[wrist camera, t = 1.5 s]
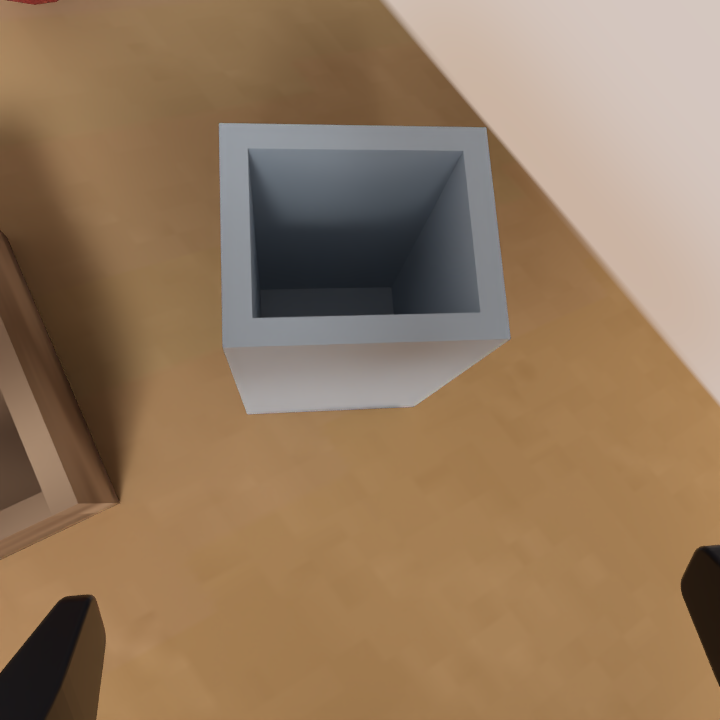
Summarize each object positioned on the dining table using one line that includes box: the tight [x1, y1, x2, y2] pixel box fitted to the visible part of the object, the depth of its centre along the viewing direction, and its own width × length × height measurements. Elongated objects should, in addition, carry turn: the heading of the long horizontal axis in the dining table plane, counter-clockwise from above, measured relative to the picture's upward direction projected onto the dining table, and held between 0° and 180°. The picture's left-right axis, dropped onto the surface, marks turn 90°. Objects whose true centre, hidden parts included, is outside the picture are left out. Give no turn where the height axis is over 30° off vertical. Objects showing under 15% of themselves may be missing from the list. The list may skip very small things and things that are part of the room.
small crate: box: [219, 123, 511, 414], centre depth 18 cm, size 5×6×10 cm
